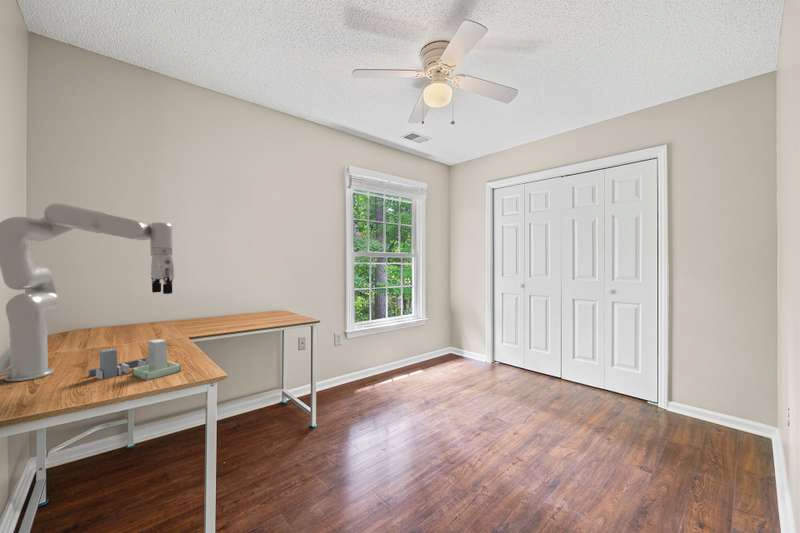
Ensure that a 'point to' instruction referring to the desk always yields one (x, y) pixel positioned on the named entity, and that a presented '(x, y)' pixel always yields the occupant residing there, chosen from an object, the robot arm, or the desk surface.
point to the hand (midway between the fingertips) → (162, 292)
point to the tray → (146, 375)
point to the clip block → (120, 367)
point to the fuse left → (108, 362)
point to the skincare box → (157, 355)
